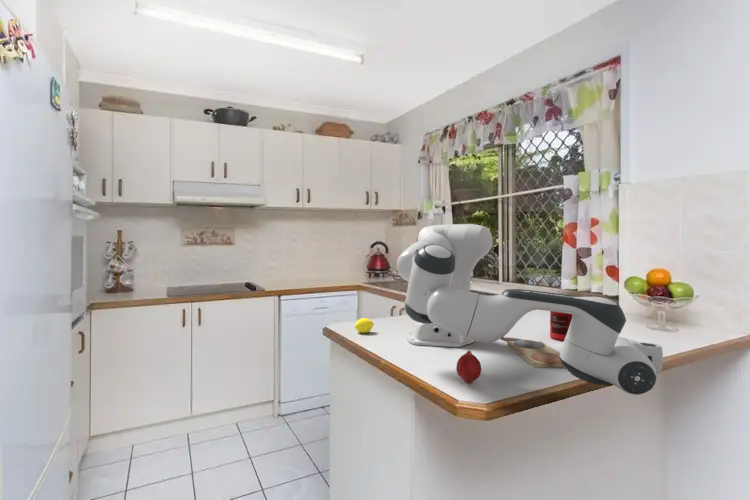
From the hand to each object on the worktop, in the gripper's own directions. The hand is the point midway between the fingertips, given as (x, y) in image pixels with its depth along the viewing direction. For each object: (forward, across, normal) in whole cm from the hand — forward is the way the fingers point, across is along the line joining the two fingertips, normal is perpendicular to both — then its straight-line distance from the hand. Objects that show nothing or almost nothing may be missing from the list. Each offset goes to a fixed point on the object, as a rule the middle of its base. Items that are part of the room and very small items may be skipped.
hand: (608, 342), depth 109 cm
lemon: (+11, -76, -6) cm, 77 cm away
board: (+4, -17, -6) cm, 19 cm away
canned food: (+27, -9, -7) cm, 29 cm away
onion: (-27, -34, -7) cm, 44 cm away
